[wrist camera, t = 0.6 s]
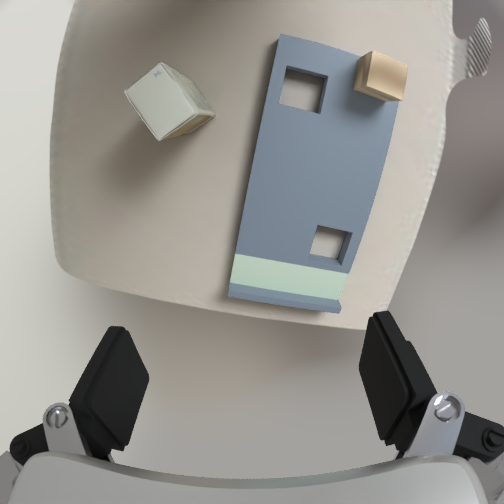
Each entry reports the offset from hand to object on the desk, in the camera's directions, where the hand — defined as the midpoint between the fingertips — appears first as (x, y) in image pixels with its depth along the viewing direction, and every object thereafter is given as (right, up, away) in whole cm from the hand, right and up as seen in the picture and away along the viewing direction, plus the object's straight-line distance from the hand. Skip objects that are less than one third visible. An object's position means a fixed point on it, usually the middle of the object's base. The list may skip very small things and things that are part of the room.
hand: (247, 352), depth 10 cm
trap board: (+8, +13, +25) cm, 29 cm away
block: (+15, +24, +17) cm, 33 cm away
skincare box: (-8, +22, +21) cm, 31 cm away
